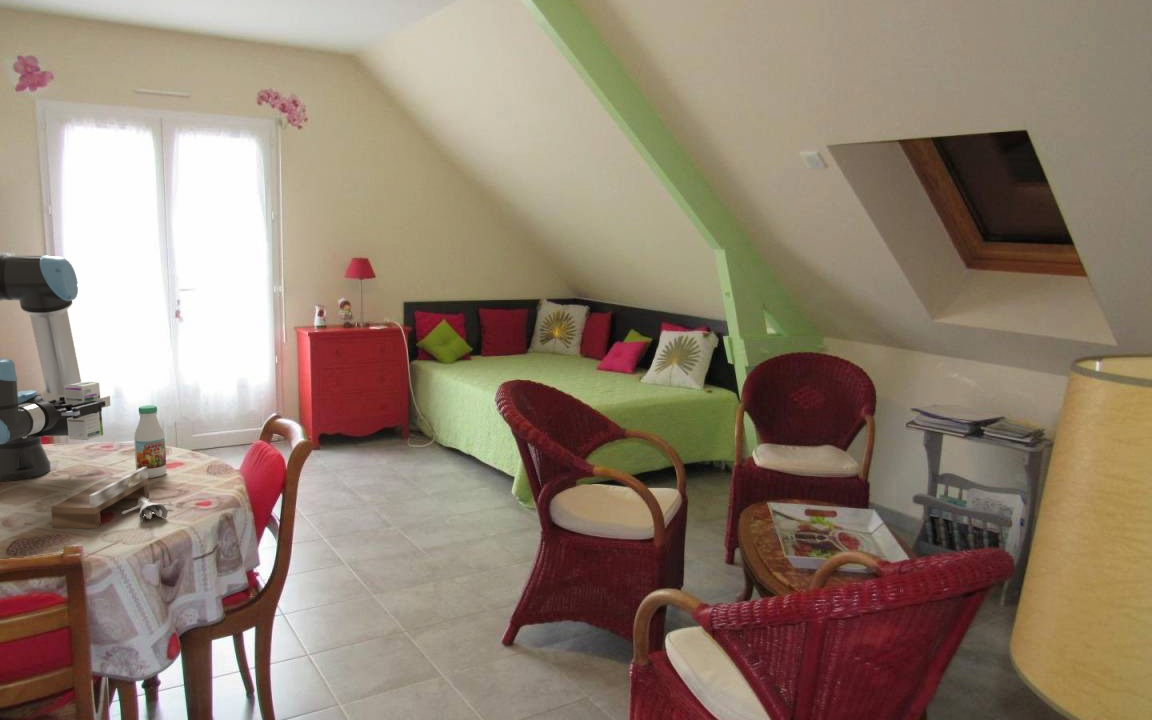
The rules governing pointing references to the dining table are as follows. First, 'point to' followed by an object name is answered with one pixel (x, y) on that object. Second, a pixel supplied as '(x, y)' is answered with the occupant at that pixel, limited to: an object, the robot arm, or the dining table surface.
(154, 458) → the milk bottle
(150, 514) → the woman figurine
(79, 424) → the syrup box
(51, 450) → the dining table surface
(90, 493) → the shelf
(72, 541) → the dining table surface
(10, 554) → the dining table surface
